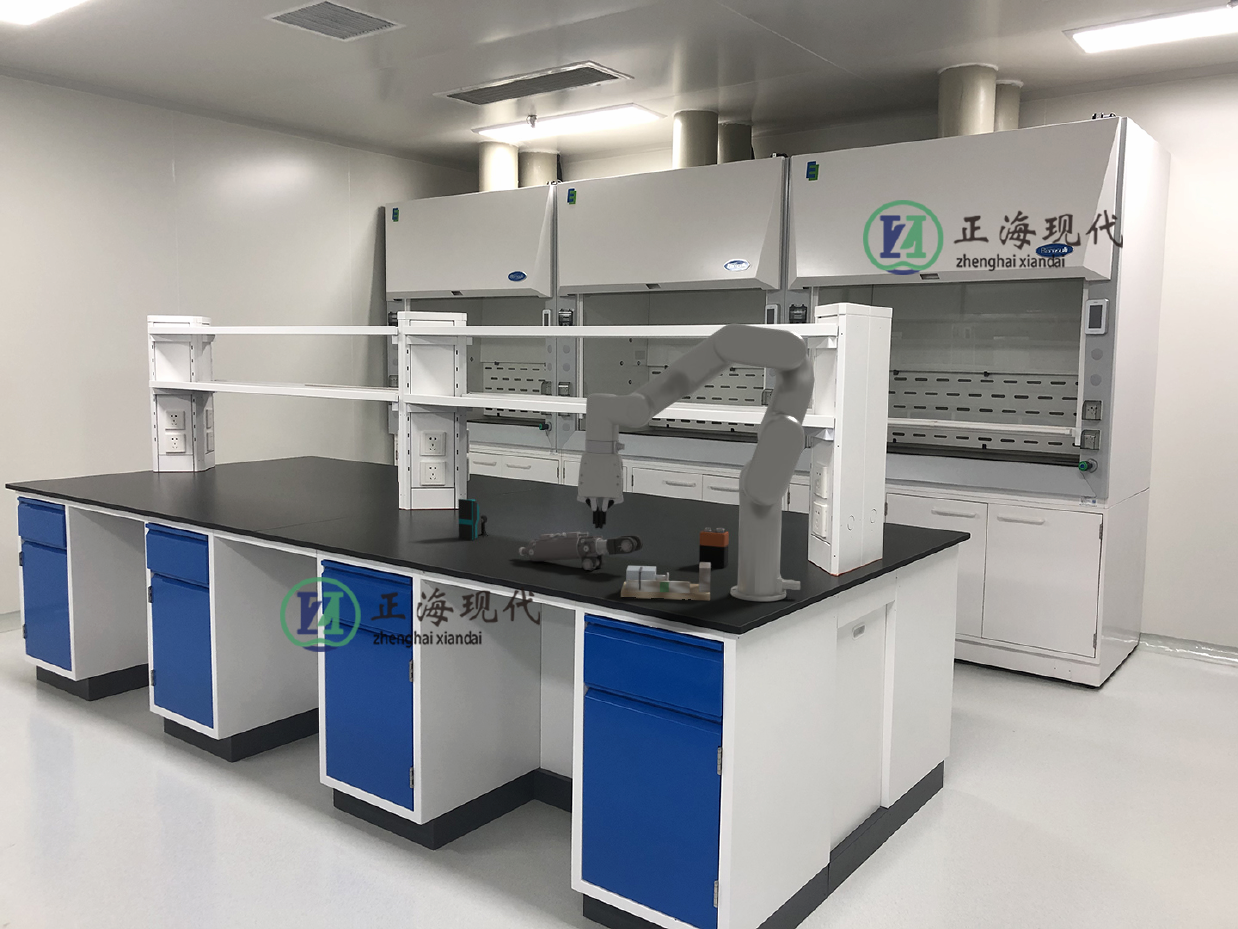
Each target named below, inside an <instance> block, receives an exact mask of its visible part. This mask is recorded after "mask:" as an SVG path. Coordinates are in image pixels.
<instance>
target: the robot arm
mask: <svg viewBox="0 0 1238 929" xmlns="http://www.w3.org/2000/svg"><path fill="white" fill-rule="evenodd" d="M738 364H739V365H745V366H751V367H758V368H764V369H765V368H766V369H772V370H774V374H775V375H774V377H775V381H774V382H775V383H774V387H773V390H772V393H771V395H770V400H769V401H768V405H767V407H766V410H765V412H764V415H763V417H762V419H761V422H760V424H759V426H758V429H757V440H758V441H757V443H756V446H755V449H754V451H753V455H752V457H751V459H750V460H748V461H747V462H745V464H744V465H743V466H742V468H741V470H740V472H739V477H738V500H739V501H738V503H739V505H738V506H739V507H738V509H739V511H738V512H739V515H738V516H739V517H738V543H737V544H738V547H737V548H738V549H737V550H738V551H737V552H738V553H737V585H734V586H731V588H730V595H731V596H732V597H734V598H736V599H739V600H744V601H749V602H750V601H751V602H775V601H780V600H783V599H785V598H786V596H787V590H792V591H793V590H796V591H797V590H798V591H800V590H801V581H800V580H799V581H797V580H794V579H784V578H782V575H781V573H780V572H781V547H782V546H781V542H782V541H781V540H782V520H783V519H782V516H783V514H782V513H783V512H782V511H783V510H782V508H783V507H782V499H783V498H784V496H785V495H786V492H787V491H788V489H789V486H790V485H791V484H790V483H791V480H792V478H793V476H794V474H795V470H796V468H797V465H798V462H799V460H800V457H801V454H802V452H803V450H804V449H803V448H804V444H805V430H804V427H803V423H804V420H805V418H806V417H805V416H806V414H807V411H808V408H809V405H810V402H811V399H812V396H813V392H814V387H815V372H814V368H813V367H814V366H813V363H812V361H811V359H810V356H809V354H808V346H807V344H806V341H805V339H804V338H803V337H802V336H801V335H800V334H799V333H797V332H795V331H793V330H785V329H780V328H779V329H777V328H770V327H761V326H754V325H748V324H742V323H734V322H733V323H729V324H726V325H724V326H722V327H721V328H719V329H718V330H716V331H715V332H713V333H712V334H711V335H710V336H708V337H706V338H705V339H704V340H702V341H701V342H699V343H697V345H695V346H694V347H692V348H691V349H689V350H688V351H687V352H685V353H684V354H682V355H681V356H679V357H677V359H675V360H674V361H673V362H671V363H670V364H669V365H668V366H667V367H666V368H665V369H664V370H663V371H661V372H660V373H659V374H657V375H656V376H655V377H653V378H651V379H650V380H649V381H647V382H646V383H645V384H643V385H641V386H640V387H639V388H638V389H636V390H634V391H633V392H631V393H630V394H626V395H616V394H613V393H604V392H603V393H601V392H599V393H597V392H596V393H595V392H594V393H590V394H588V396H587V398H586V401H585V402H586V403H585V405H586V407H585V408H586V409H585V410H586V411H585V436H584V437H585V440H584V443H585V444H584V447H585V448H584V452H582V453H581V457H580V461H579V462H580V463H579V470H578V480H577V492H578V493H577V496H576V501H577V502H580V503H584V504H586V505H587V506H588V507H589V508H590V509H591V511H592V525H594V528H595V529H596V530H597V529H600V530H602V529H603V528H604V526H606V525H607V517H608V516H607V515H608V514H607V513H608V512H607V511H608V509H610V508H611V507H612V506H613V505H617V504H622V503H623V502H624V495H623V494H624V463H623V462H624V461H623V457H622V453H619V451H623V450H625V446H626V445H625V443H621V442H620V441H619V439H620V438H619V436H620V434H619V433H620V432H619V431H620V426H622V427H628V428H633V429H636V428H637V429H638V428H642V427H644V426H646V425H648V423H650V421H651V419H653V418H655V416H657V415H659V414H660V413H662V412H663V411H664V410H666V409H667V408H669V407H670V406H671V405H673V404H674V403H676V402H678V401H680V400H681V399H683V398H685V397H687V396H690V395H693V394H694V393H696V392H698V391H699V390H701V389H703V388H704V387H706V386H707V385H708V384H710V383H711V382H713V381H714V380H715V379H716V378H718V377H719V376H721V375H723V374H724V373H726V372H727V371H729V370H730V369H731V368H733V367H735V366H736V365H738ZM598 499H603V500H602V506H601V507H599V502H598Z"/></svg>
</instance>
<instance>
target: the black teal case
mask: <svg viewBox="0 0 1238 929" xmlns="http://www.w3.org/2000/svg"><path fill="white" fill-rule="evenodd" d="M457 502H458V503H457V504H458V506H457V508H458V540H463V541H470V540H473V541H475V540H476V539H477V538H478V537H479V536H483V537H482V538H485V537H487V536H486V535H487V534H488V533H487V530H486V523H487V522H488V517H487V516H486V515H485V514H482V512H481V511H480V505H479V501H478V499H473V498H468V499H467V498H466V499H465V498H458V501H457ZM477 535H478V536H477ZM484 536H485V537H484Z"/></svg>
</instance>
